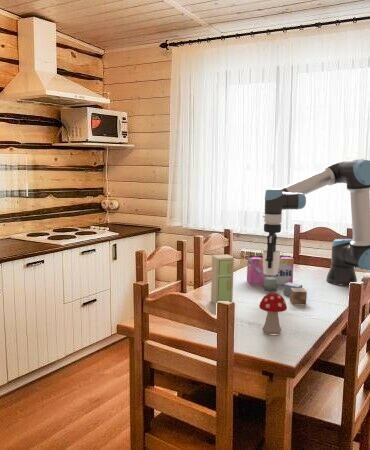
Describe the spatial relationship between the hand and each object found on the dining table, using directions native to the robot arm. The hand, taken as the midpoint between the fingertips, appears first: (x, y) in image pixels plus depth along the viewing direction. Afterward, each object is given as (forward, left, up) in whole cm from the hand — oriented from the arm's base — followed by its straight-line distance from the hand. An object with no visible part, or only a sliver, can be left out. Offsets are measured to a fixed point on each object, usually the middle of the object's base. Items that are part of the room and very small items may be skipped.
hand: (270, 272), depth 206 cm
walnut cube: (-13, +1, -12) cm, 18 cm away
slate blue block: (-10, -11, -12) cm, 19 cm away
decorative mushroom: (-6, +42, -12) cm, 44 cm away
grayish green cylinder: (+1, -14, -12) cm, 18 cm away
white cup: (0, 0, -1) cm, 1 cm away
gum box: (+3, -28, -12) cm, 31 cm away
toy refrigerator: (+19, +14, -12) cm, 27 cm away
